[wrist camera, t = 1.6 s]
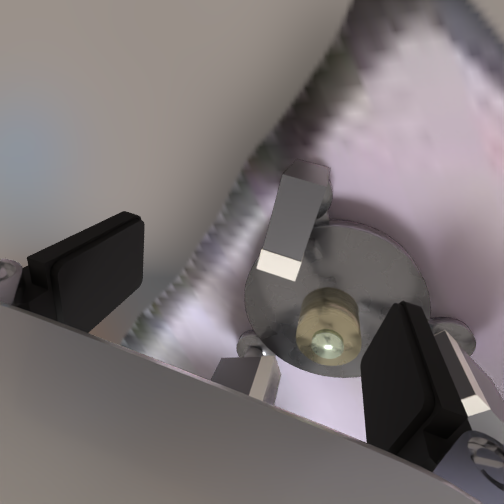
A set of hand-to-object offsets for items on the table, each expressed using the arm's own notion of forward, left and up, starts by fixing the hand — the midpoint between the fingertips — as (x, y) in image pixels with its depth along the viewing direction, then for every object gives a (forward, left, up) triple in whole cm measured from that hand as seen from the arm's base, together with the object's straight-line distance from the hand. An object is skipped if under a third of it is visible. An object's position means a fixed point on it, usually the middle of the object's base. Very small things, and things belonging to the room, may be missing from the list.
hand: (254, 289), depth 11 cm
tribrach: (-8, 0, -16) cm, 18 cm away
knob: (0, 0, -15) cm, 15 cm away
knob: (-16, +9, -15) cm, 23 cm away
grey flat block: (-16, -9, -14) cm, 24 cm away
